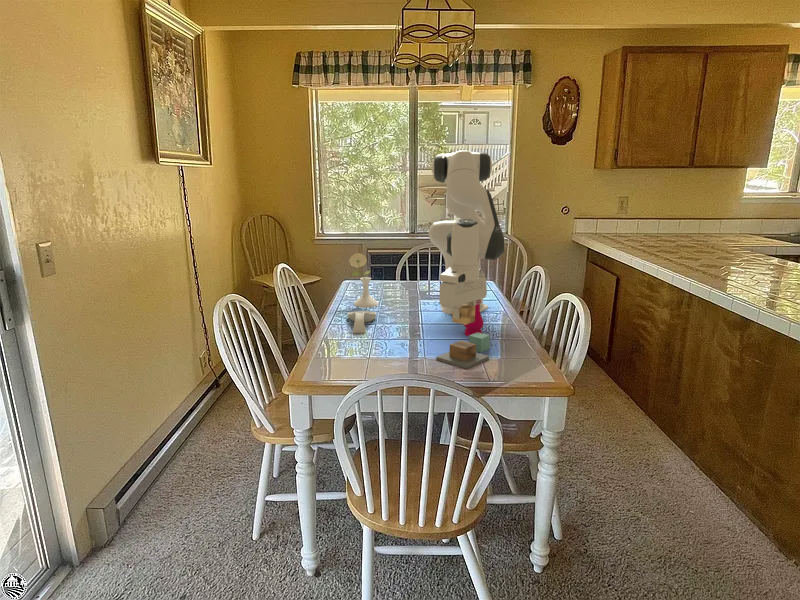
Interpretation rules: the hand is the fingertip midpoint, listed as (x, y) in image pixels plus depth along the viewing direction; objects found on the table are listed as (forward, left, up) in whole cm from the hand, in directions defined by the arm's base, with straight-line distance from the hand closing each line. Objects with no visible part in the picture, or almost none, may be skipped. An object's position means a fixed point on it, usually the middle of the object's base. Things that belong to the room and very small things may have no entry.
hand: (463, 316), depth 159 cm
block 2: (-12, -2, -14) cm, 19 cm away
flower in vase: (-23, -72, -15) cm, 77 cm away
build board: (0, 0, -14) cm, 14 cm away
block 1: (0, 0, -2) cm, 2 cm away
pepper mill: (-24, -13, -15) cm, 31 cm away
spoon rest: (-3, -52, -15) cm, 54 cm away
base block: (0, 0, -13) cm, 13 cm away
